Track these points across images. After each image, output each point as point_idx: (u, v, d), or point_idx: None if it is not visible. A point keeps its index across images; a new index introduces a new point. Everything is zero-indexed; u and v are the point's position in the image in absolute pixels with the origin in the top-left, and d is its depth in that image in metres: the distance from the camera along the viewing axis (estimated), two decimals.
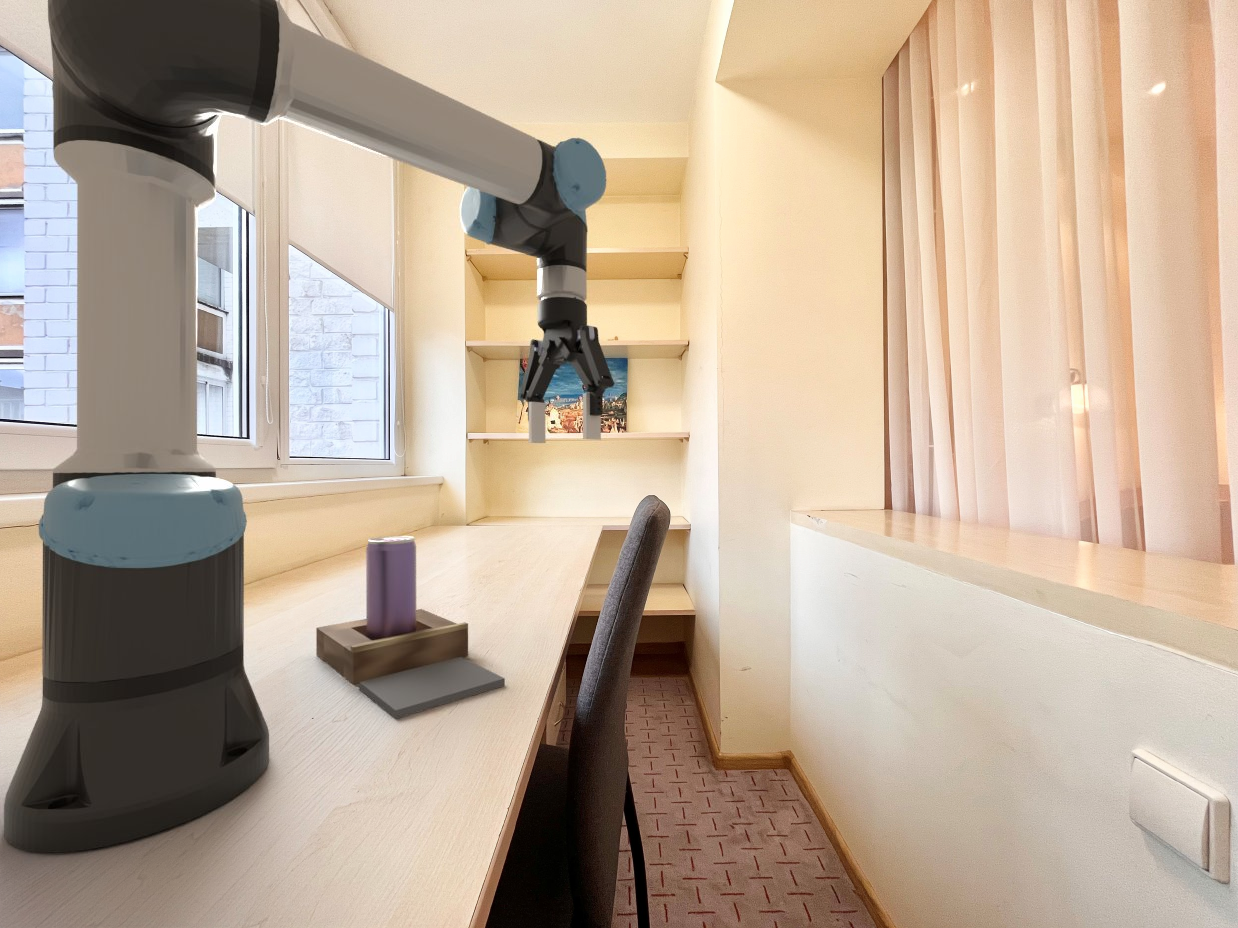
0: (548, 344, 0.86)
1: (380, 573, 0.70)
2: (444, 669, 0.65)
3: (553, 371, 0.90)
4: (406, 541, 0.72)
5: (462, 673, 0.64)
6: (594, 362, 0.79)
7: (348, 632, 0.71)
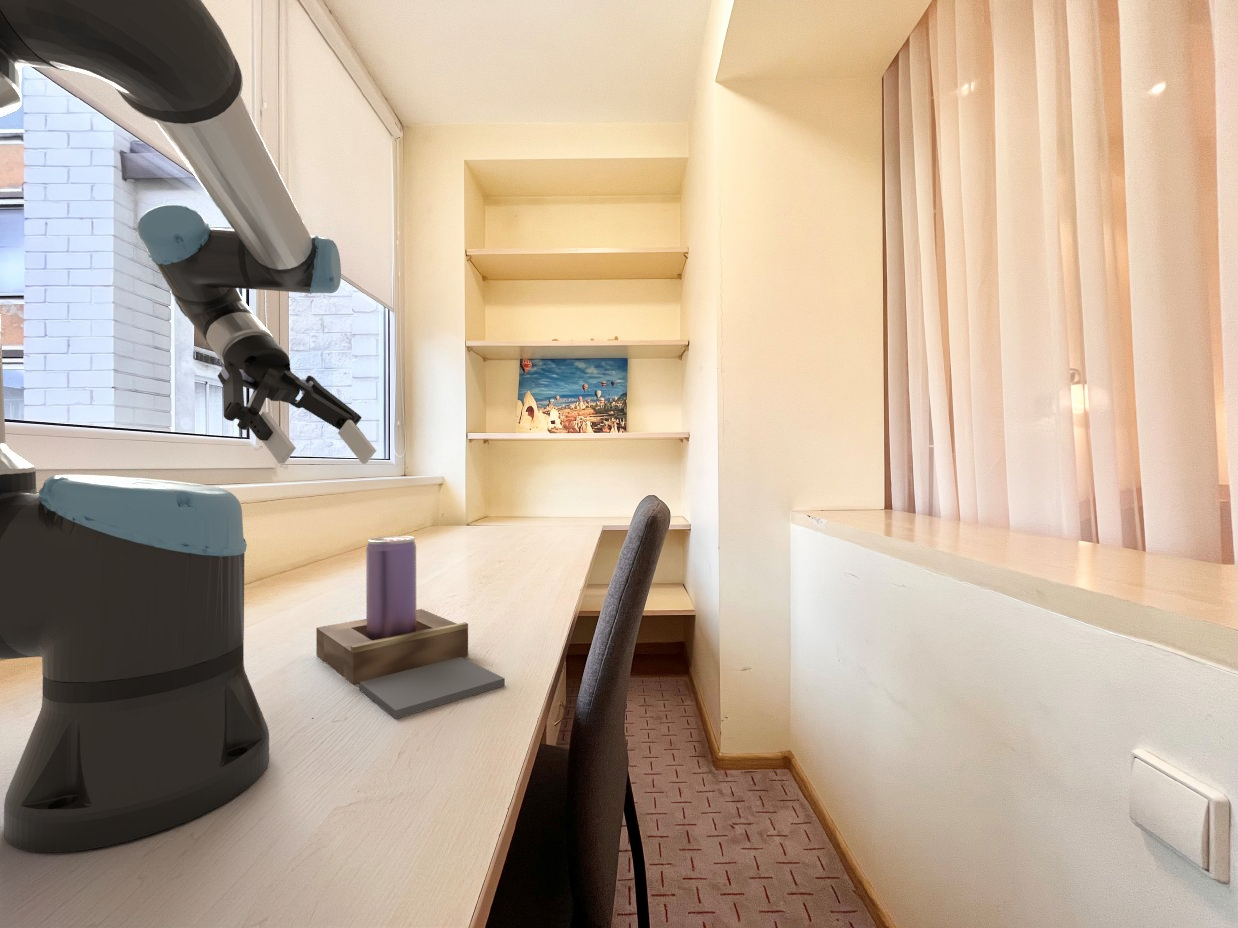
0: (275, 372, 0.79)
1: (380, 573, 0.70)
2: (444, 669, 0.65)
3: None
4: (406, 541, 0.72)
5: (462, 673, 0.64)
6: (343, 403, 0.87)
7: (348, 632, 0.71)
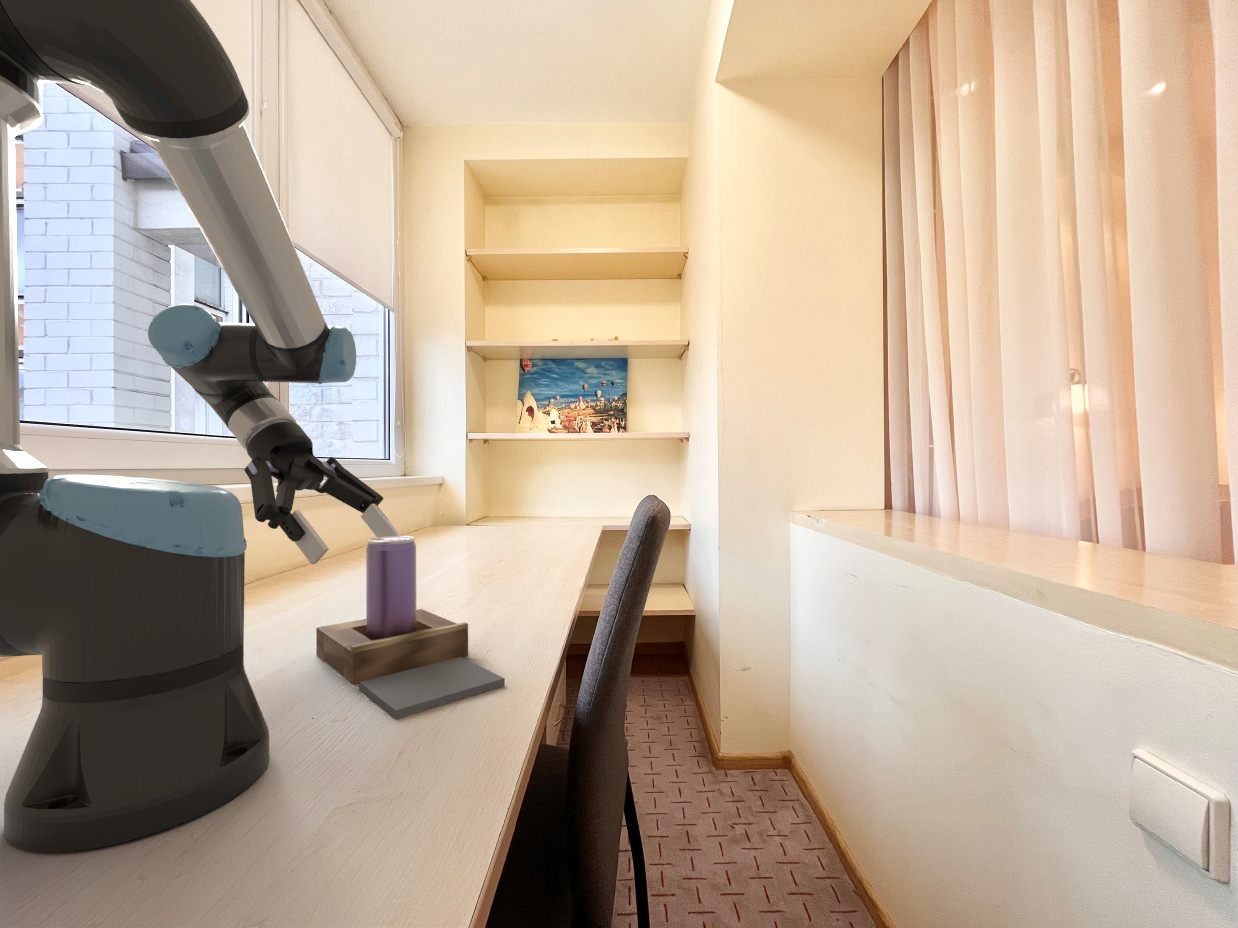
0: (301, 461, 0.78)
1: (380, 573, 0.70)
2: (444, 669, 0.65)
3: None
4: (406, 541, 0.72)
5: (462, 673, 0.64)
6: None
7: (348, 632, 0.71)
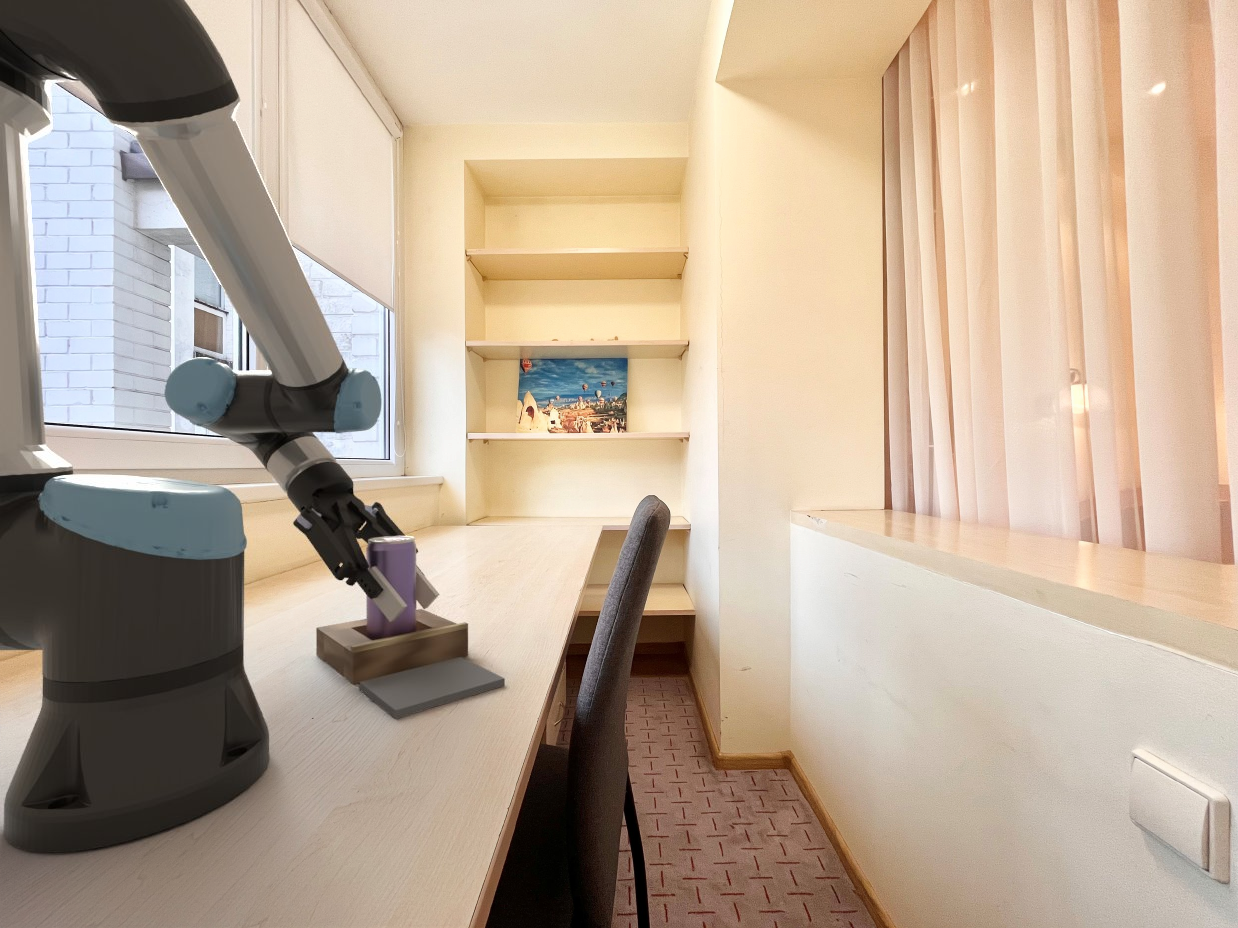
0: (343, 503, 0.74)
1: None
2: (444, 669, 0.65)
3: None
4: (406, 541, 0.72)
5: (462, 673, 0.64)
6: (403, 533, 0.80)
7: (348, 632, 0.71)
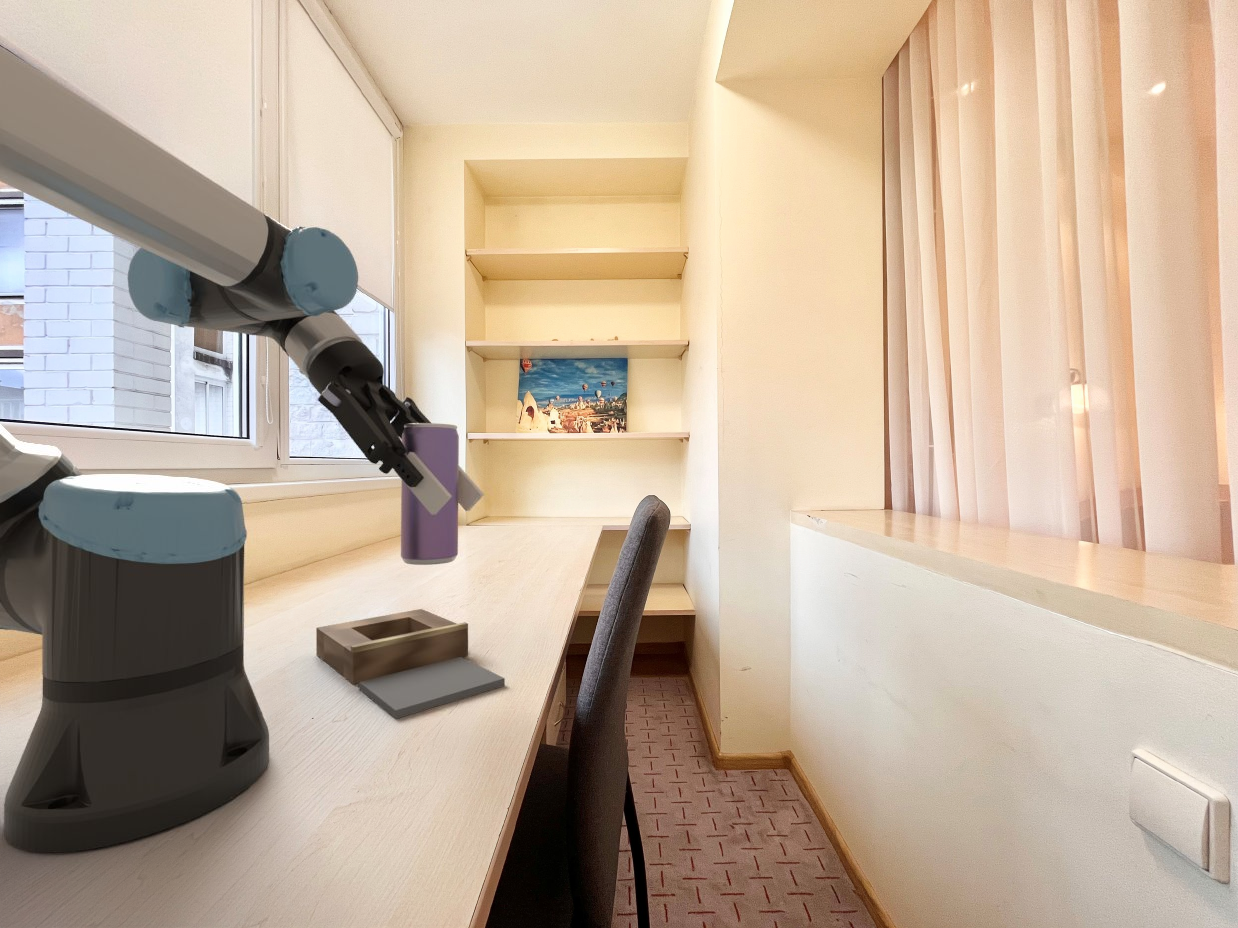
0: (374, 386, 0.64)
1: None
2: (444, 669, 0.65)
3: None
4: (449, 426, 0.62)
5: (462, 673, 0.64)
6: None
7: (348, 632, 0.71)
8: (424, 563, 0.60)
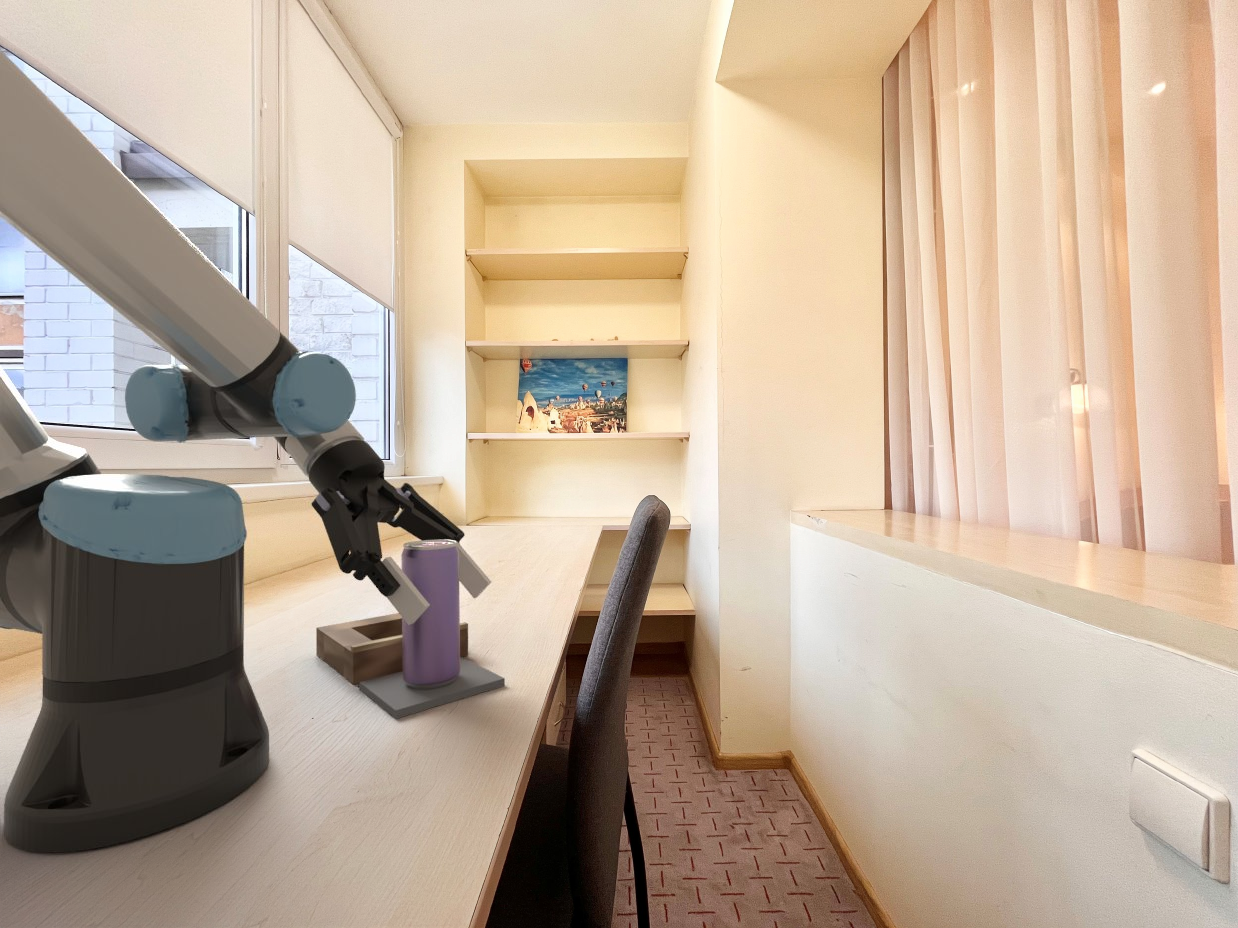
0: (374, 488, 0.63)
1: (419, 584, 0.59)
2: None
3: None
4: (448, 546, 0.61)
5: (462, 673, 0.64)
6: (444, 516, 0.71)
7: (348, 632, 0.71)
8: (426, 687, 0.59)
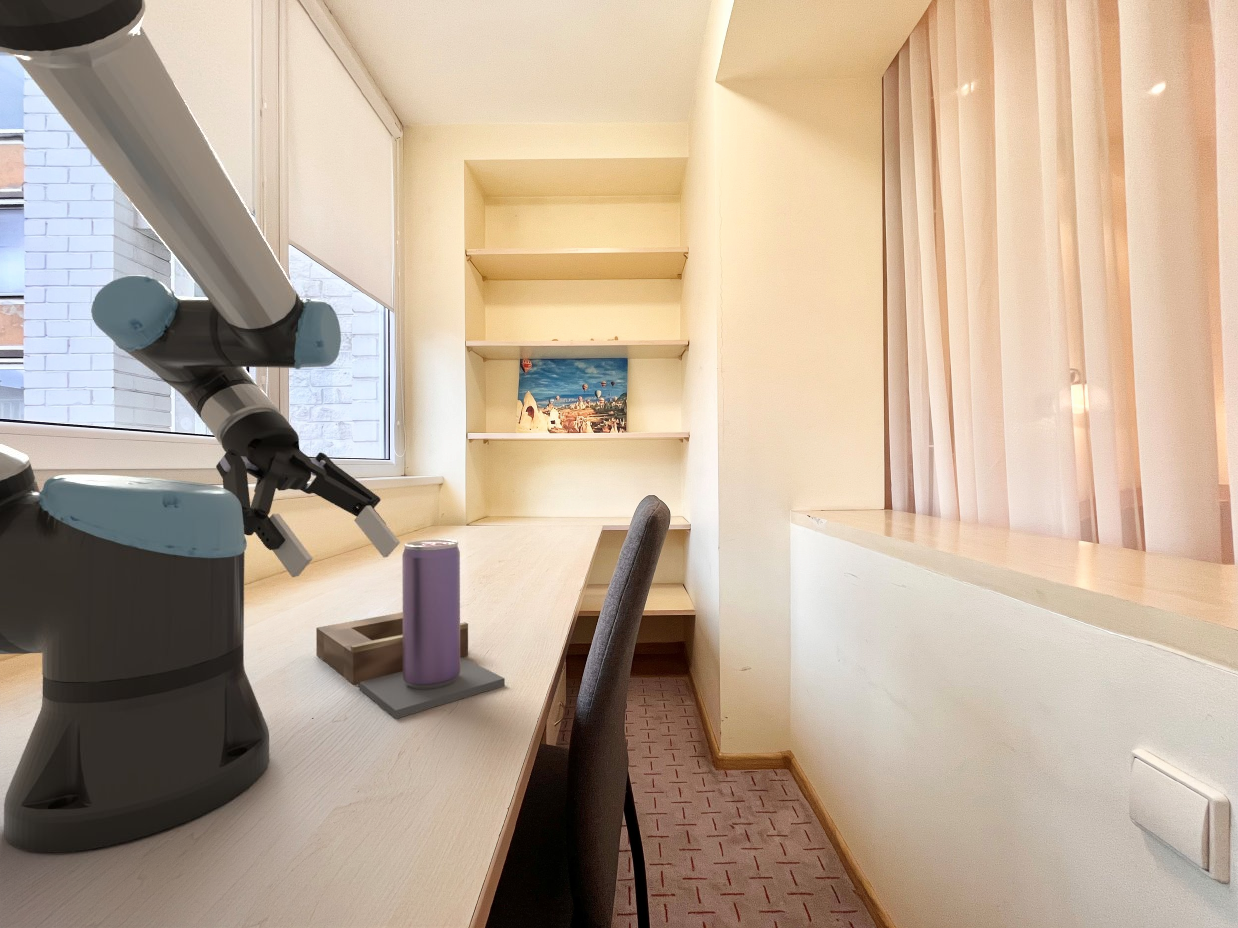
0: (284, 456, 0.67)
1: (419, 584, 0.59)
2: None
3: None
4: (449, 546, 0.61)
5: (462, 673, 0.64)
6: (359, 483, 0.76)
7: (348, 632, 0.71)
8: (426, 688, 0.59)
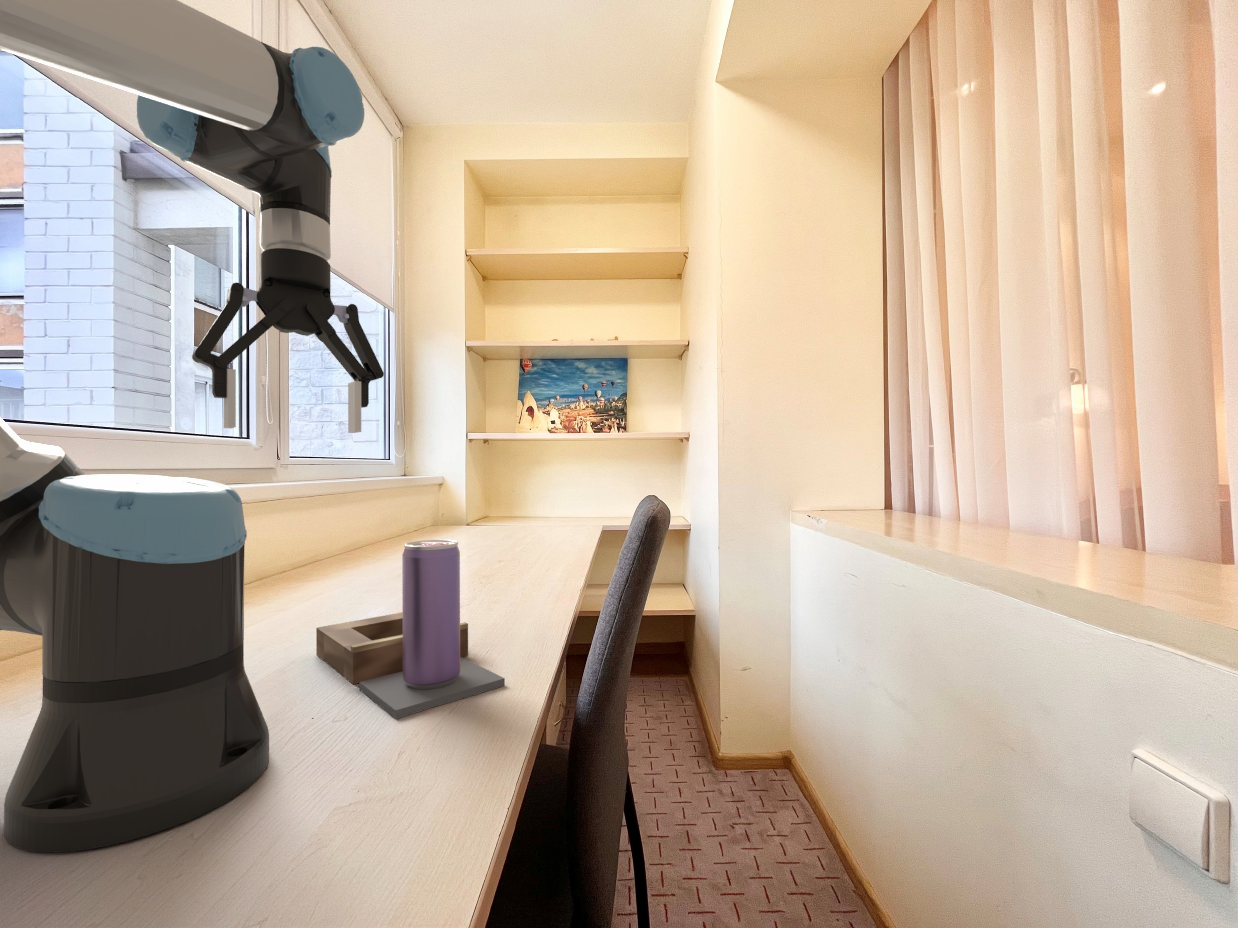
0: (291, 305, 0.67)
1: (419, 584, 0.59)
2: None
3: None
4: (449, 546, 0.61)
5: (462, 673, 0.64)
6: None
7: (348, 632, 0.71)
8: (426, 688, 0.59)
